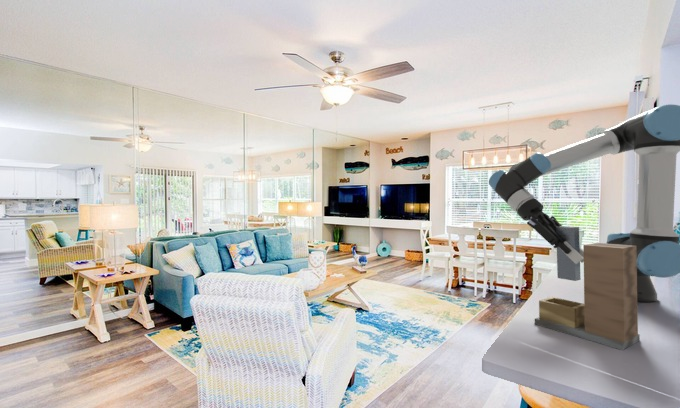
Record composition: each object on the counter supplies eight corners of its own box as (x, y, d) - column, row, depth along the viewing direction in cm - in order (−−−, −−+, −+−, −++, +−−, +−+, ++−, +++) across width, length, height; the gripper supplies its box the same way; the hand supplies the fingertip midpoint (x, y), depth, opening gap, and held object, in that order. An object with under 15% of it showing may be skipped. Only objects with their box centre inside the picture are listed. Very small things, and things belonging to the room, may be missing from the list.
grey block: (562, 276, 104) (561, 226, 104) (580, 279, 100) (579, 226, 100) (557, 278, 103) (556, 226, 103) (575, 281, 98) (574, 227, 98)
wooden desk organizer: (553, 317, 99) (552, 238, 99) (639, 340, 81) (638, 245, 81) (534, 323, 93) (533, 241, 94) (622, 350, 76) (620, 248, 76)
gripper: (531, 212, 119) (585, 265, 104) (504, 214, 110) (559, 271, 96) (546, 197, 114) (605, 250, 100) (519, 197, 106) (579, 255, 91)
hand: (582, 260), depth 98 cm, fingers closed on grey block, 3 cm apart
